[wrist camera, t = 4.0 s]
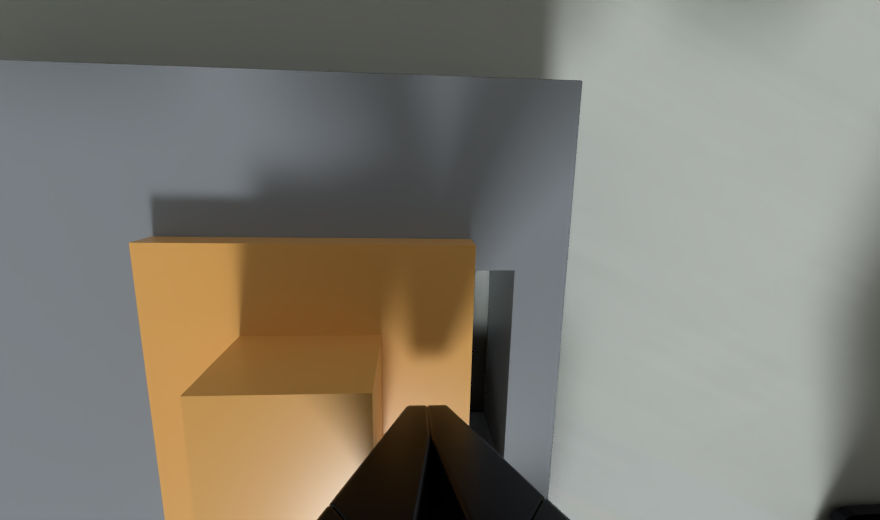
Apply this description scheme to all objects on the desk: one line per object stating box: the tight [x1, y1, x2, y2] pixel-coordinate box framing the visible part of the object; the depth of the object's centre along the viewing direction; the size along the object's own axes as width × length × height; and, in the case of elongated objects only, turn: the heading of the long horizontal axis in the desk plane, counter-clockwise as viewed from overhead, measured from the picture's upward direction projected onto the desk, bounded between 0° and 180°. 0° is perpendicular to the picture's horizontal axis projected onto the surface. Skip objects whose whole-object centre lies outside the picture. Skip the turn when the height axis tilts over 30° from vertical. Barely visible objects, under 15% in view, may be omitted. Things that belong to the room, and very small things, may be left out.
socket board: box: [0, 60, 582, 520], centre depth 12 cm, size 15×14×3 cm
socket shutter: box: [129, 236, 476, 520], centre depth 9 cm, size 7×7×3 cm
